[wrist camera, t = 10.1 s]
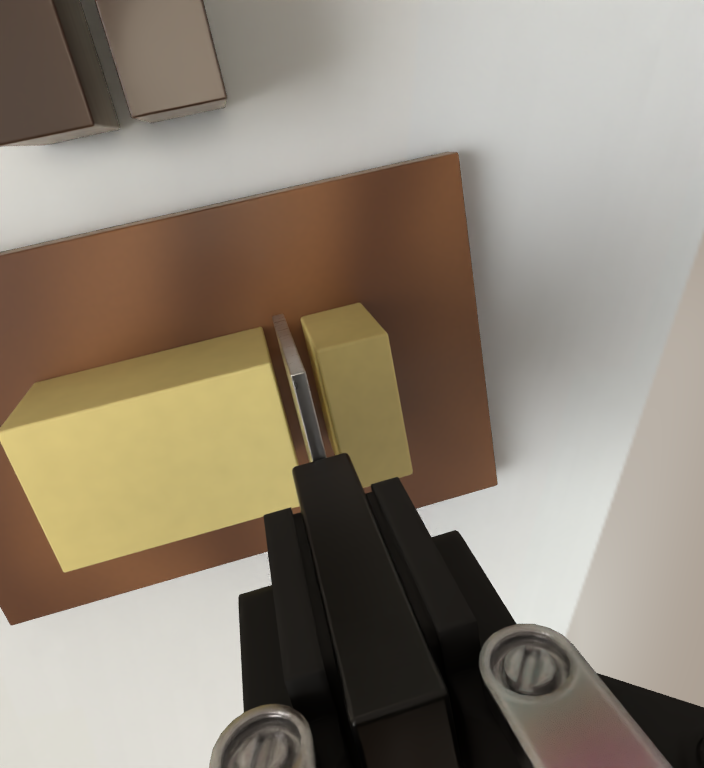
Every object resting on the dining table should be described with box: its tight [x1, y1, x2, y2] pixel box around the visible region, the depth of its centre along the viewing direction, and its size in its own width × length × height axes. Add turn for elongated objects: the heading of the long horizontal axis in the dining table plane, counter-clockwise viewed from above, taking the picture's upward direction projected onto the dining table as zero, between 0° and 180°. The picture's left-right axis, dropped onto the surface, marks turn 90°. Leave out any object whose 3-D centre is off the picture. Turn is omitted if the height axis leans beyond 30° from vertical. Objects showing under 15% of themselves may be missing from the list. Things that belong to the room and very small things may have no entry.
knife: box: [272, 314, 462, 768], centre depth 12 cm, size 1×7×10 cm, turn 11°
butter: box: [0, 327, 299, 572], centre depth 18 cm, size 7×4×4 cm, turn 101°
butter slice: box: [301, 303, 413, 488], centre depth 19 cm, size 2×4×4 cm, turn 11°
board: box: [0, 152, 497, 625], centre depth 20 cm, size 18×12×1 cm, turn 101°
